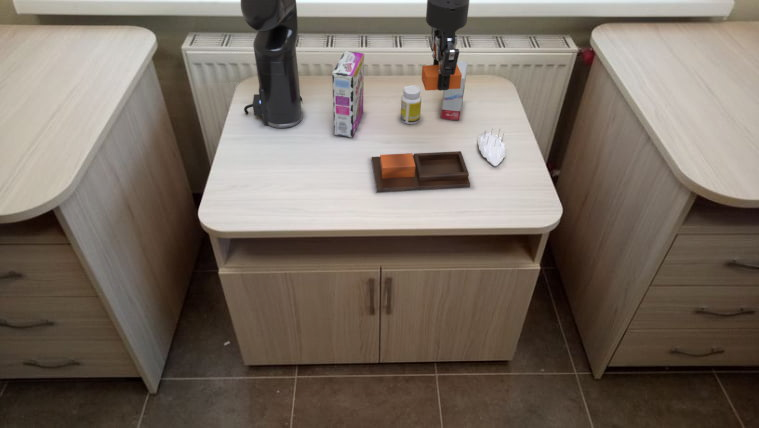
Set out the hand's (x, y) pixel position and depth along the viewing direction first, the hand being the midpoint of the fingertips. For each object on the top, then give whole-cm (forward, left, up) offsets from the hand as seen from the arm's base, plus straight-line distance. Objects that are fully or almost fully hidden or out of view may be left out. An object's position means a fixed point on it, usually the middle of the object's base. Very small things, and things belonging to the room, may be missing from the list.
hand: (440, 82), depth 108 cm
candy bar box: (-18, +16, -20) cm, 31 cm away
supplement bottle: (-3, +17, -20) cm, 26 cm away
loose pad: (0, 0, 0) cm, 0 cm away
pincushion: (+14, +2, -20) cm, 25 cm away
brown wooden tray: (-4, -4, -20) cm, 21 cm away
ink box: (+8, +20, -20) cm, 29 cm away
